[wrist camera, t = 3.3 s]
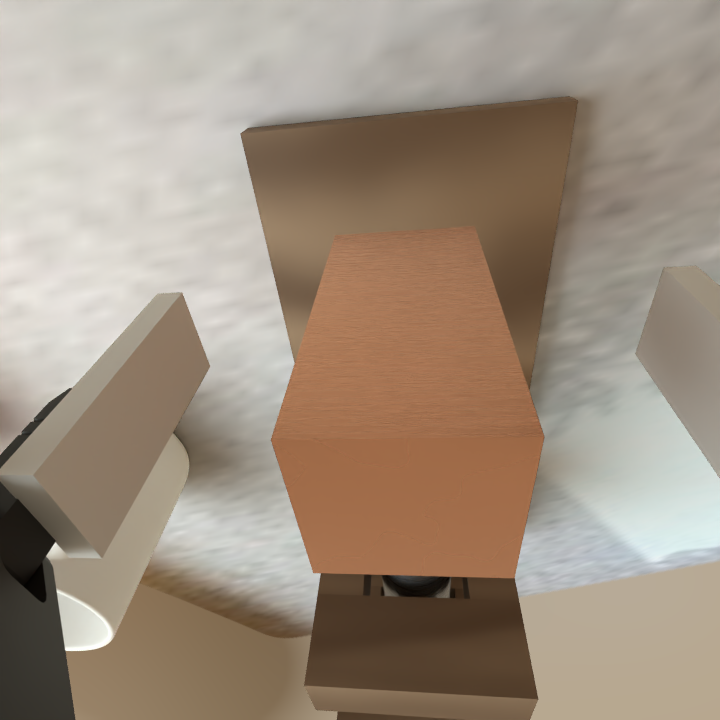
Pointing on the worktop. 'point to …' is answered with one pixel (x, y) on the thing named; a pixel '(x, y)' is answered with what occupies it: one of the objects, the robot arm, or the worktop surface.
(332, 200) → the wooden stand
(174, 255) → the worktop surface
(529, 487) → the mallet
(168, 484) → the mug
